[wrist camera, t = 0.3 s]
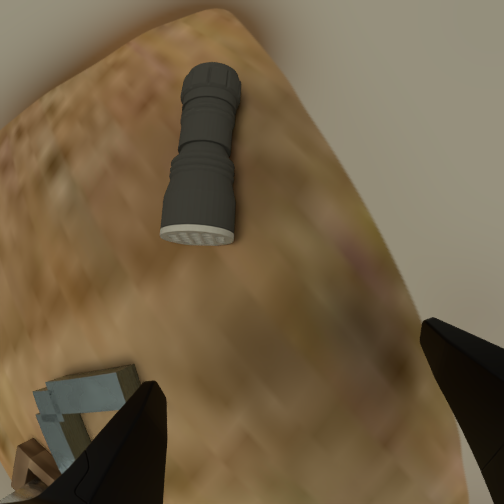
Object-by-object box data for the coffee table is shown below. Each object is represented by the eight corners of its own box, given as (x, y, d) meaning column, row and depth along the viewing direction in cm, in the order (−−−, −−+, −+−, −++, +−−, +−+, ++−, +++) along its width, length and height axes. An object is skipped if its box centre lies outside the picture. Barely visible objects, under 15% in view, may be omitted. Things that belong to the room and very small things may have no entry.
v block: (154, 377, 24) (138, 388, 20) (100, 484, 22) (85, 499, 19) (78, 321, 25) (55, 323, 21) (38, 433, 23) (19, 442, 20)
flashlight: (190, 93, 28) (177, 59, 22) (244, 90, 27) (240, 54, 22) (172, 245, 25) (148, 231, 20) (237, 246, 25) (228, 232, 20)
